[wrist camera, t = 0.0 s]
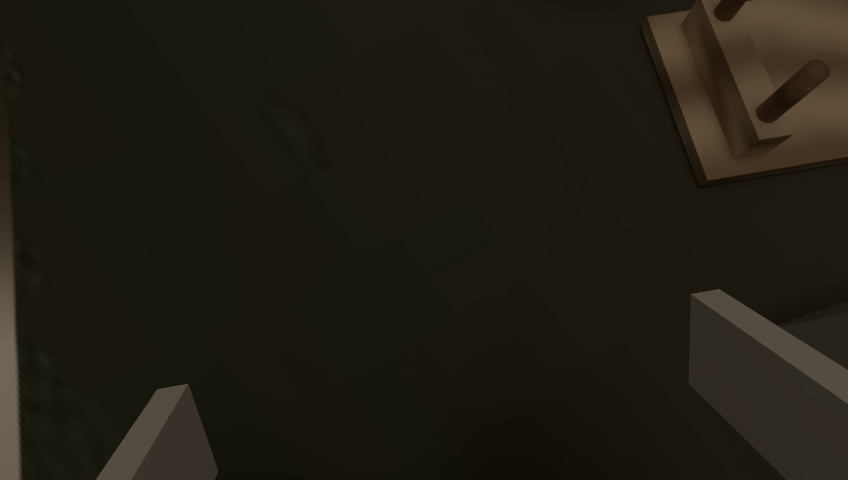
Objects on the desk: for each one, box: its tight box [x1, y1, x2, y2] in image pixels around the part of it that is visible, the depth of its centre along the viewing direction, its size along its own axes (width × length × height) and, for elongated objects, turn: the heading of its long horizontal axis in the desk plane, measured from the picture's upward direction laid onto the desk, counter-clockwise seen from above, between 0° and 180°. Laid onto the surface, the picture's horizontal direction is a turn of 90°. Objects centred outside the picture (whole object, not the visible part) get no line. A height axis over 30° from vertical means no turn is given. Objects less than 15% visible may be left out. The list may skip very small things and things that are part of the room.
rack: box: [641, 0, 848, 187], centre depth 30 cm, size 12×18×8 cm, turn 100°
